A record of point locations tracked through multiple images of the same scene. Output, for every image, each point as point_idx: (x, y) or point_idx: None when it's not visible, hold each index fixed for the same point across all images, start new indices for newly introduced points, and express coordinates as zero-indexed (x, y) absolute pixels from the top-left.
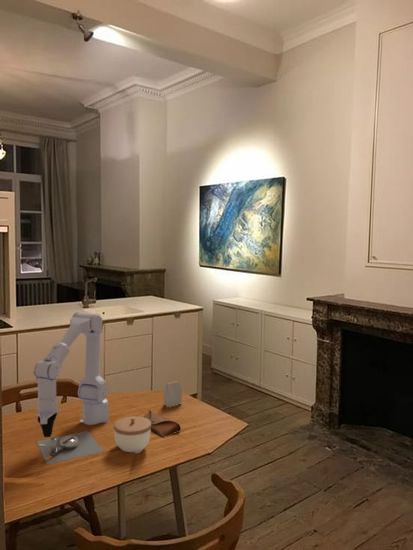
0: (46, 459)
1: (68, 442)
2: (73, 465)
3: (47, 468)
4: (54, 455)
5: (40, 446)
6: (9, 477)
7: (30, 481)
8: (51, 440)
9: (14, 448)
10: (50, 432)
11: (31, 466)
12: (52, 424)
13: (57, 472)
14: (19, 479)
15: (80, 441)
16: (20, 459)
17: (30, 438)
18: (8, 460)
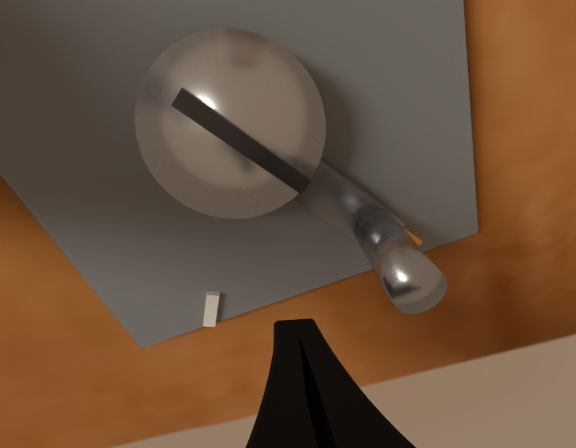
0: None
1: (298, 133)
2: (513, 49)
3: None
4: (390, 210)
5: (222, 313)
6: (487, 353)
7: (570, 270)
8: (433, 301)
9: (201, 407)
10: (331, 355)
11: None
12: (406, 441)
13: (553, 153)
14: (525, 316)
15: (132, 9)
16: None
17: (67, 376)
18: None
